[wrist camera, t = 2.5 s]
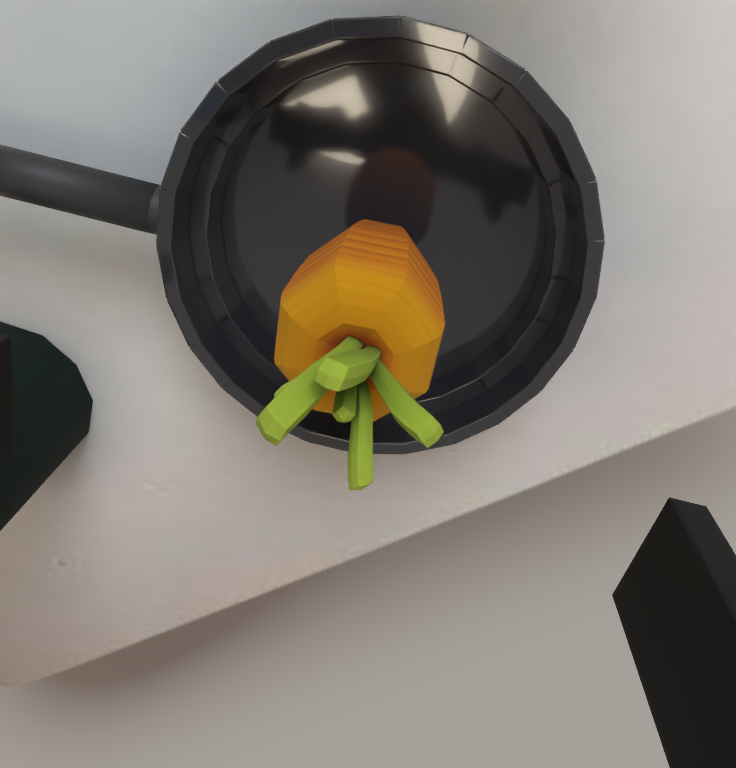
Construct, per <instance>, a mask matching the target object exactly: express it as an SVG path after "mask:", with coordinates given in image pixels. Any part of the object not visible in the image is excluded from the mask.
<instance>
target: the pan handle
mask: <svg viewBox="0 0 736 768" xmlns="http://www.w3.org/2000/svg"><path fill="white" fill-rule="evenodd" d="M160 188H161V185H158V184H154V183H150V182H146V181H142V180H138V179H134V178H130V177H126V176H122V175H118V174H114V173H110V172H106V171H102V170H98V169H94V168H90V167H86V166H82V165H78V164H75V163H71V162H67V161H63V160H59V159H55V158H51V157H47V156H43V155H39V154H35V153H31V152H27V151H23V150H19V149H15V148H11V147H7V146H3V145H0V196H3V197H7V198H11V199H15V200H19V201H23V202H27V203H31V204H35V205H39V206H43V207H47V208H51V209H55V210H59V211H63V212H67V213H71V214H75V215H79V216H83V217H87V218H91V219H95V220H99V221H103V222H107V223H111V224H115V225H119V226H123V227H127V228H131V229H135V230H139V231H143V232H147V233H151V234H157V225H158V223H159V220H160V213H159V195H160Z"/></svg>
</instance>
